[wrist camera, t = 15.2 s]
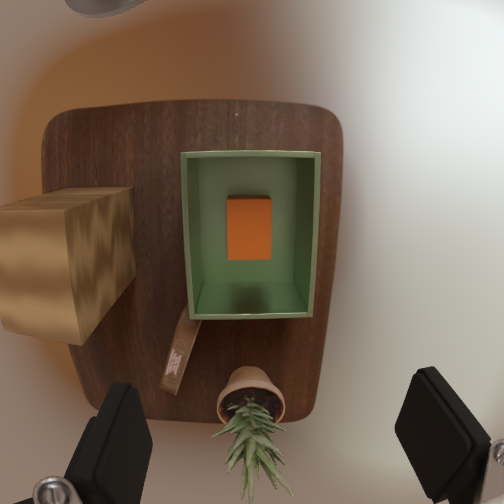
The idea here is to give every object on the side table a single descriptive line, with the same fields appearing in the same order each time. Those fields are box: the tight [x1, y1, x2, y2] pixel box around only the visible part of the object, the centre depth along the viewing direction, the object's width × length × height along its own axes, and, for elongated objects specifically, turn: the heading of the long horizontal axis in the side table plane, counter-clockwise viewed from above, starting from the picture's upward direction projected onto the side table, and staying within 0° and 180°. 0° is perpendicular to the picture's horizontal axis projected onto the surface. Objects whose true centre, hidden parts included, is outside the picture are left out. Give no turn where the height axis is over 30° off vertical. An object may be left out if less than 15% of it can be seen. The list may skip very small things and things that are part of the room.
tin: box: [159, 303, 203, 396], centre depth 40 cm, size 15×3×8 cm, turn 159°
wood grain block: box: [0, 187, 136, 346], centre depth 31 cm, size 12×10×18 cm
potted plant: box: [211, 366, 293, 504], centre depth 36 cm, size 10×10×25 cm
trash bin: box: [181, 151, 321, 319], centre depth 36 cm, size 13×17×10 cm
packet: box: [226, 195, 272, 260], centre depth 38 cm, size 7×5×4 cm
